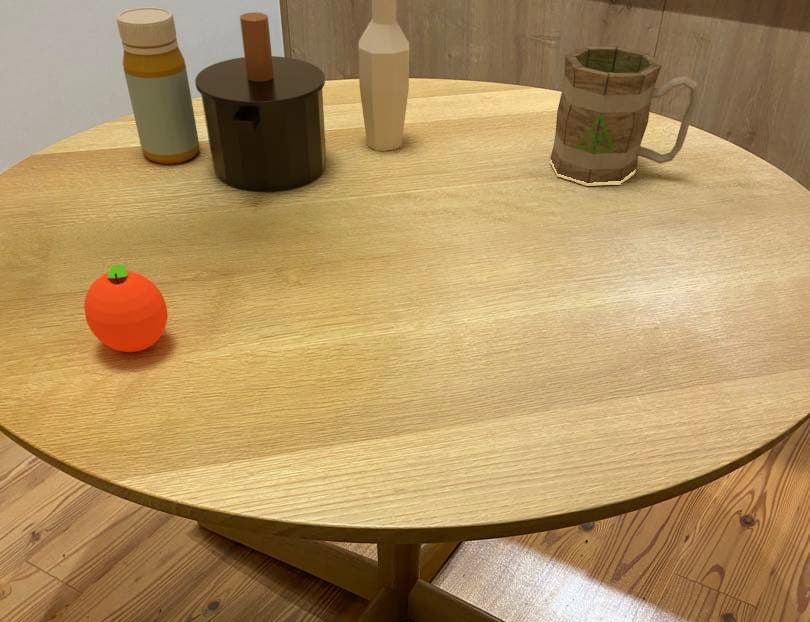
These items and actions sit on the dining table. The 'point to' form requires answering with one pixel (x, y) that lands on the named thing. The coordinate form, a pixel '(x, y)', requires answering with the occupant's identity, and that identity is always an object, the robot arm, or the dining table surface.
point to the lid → (259, 72)
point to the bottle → (158, 85)
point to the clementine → (125, 310)
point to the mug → (610, 113)
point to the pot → (267, 143)
